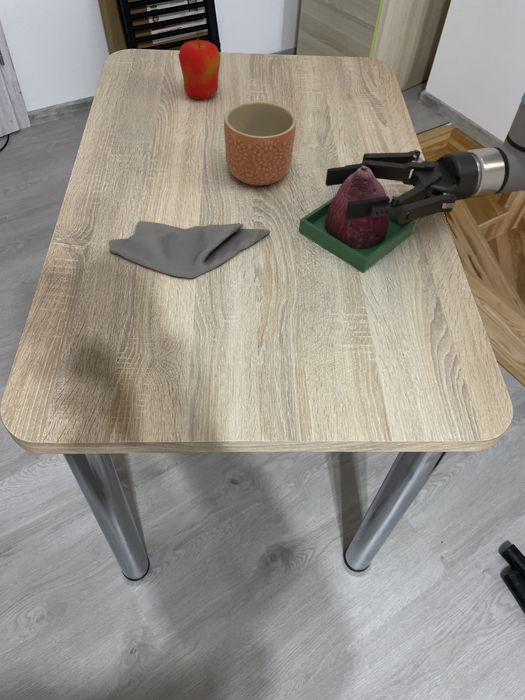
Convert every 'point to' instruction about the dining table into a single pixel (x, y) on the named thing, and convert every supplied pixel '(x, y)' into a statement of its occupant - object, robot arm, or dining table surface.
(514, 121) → the robot arm
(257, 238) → the cloth
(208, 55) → the apple
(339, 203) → the vegetable
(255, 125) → the planter
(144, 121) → the dining table surface
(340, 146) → the dining table surface
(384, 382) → the dining table surface
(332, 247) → the green tray
